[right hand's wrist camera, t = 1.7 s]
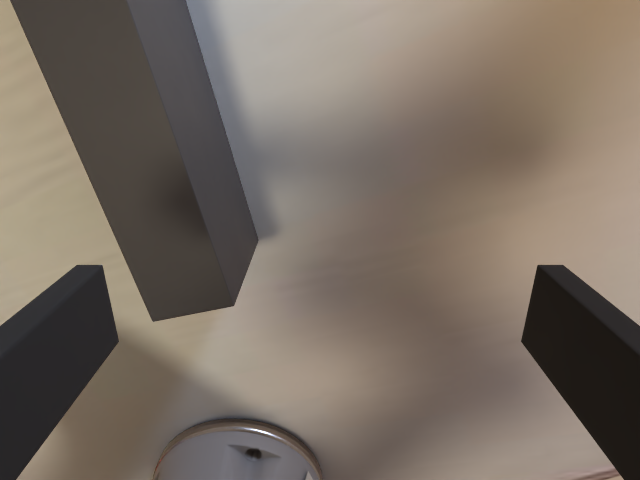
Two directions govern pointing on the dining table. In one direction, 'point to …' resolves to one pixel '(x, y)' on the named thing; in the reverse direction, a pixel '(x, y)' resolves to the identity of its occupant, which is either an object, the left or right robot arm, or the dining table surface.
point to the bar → (149, 144)
